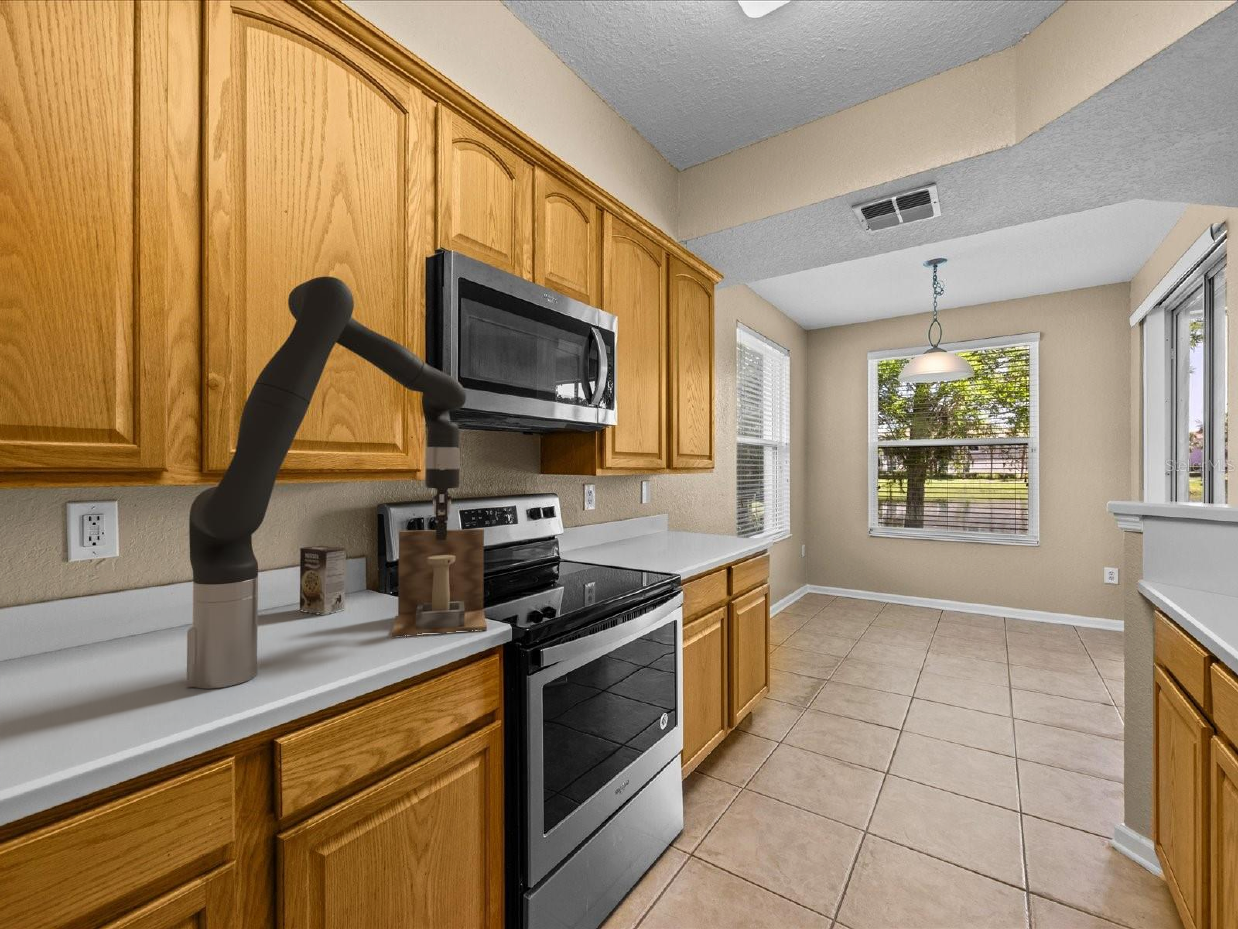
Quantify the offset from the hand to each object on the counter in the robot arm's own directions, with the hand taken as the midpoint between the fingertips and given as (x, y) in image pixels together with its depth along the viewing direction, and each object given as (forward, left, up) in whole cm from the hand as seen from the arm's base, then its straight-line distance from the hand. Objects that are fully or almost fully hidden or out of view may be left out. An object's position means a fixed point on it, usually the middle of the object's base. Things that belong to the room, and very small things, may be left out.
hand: (441, 537), depth 131 cm
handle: (0, 0, -20) cm, 20 cm away
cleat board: (0, +4, -21) cm, 21 cm away
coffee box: (-29, +22, -21) cm, 42 cm away
